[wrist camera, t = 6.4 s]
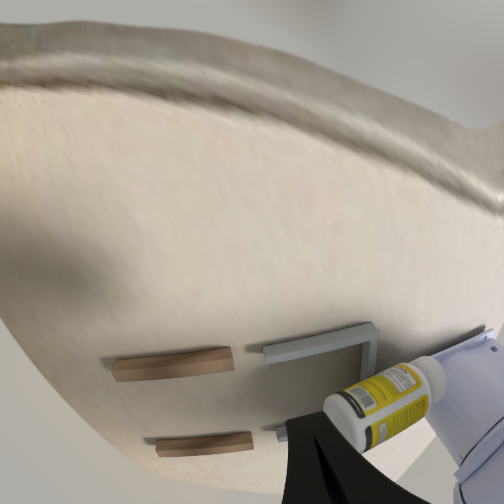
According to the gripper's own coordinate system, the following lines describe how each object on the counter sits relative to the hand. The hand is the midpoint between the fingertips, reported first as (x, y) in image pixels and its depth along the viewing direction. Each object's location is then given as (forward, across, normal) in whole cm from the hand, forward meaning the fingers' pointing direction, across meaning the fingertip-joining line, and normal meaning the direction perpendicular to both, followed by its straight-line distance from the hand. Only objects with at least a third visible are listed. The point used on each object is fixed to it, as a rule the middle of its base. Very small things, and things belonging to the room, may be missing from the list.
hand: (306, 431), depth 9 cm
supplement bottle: (+5, -3, +7) cm, 9 cm away
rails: (+10, +7, +7) cm, 14 cm away
